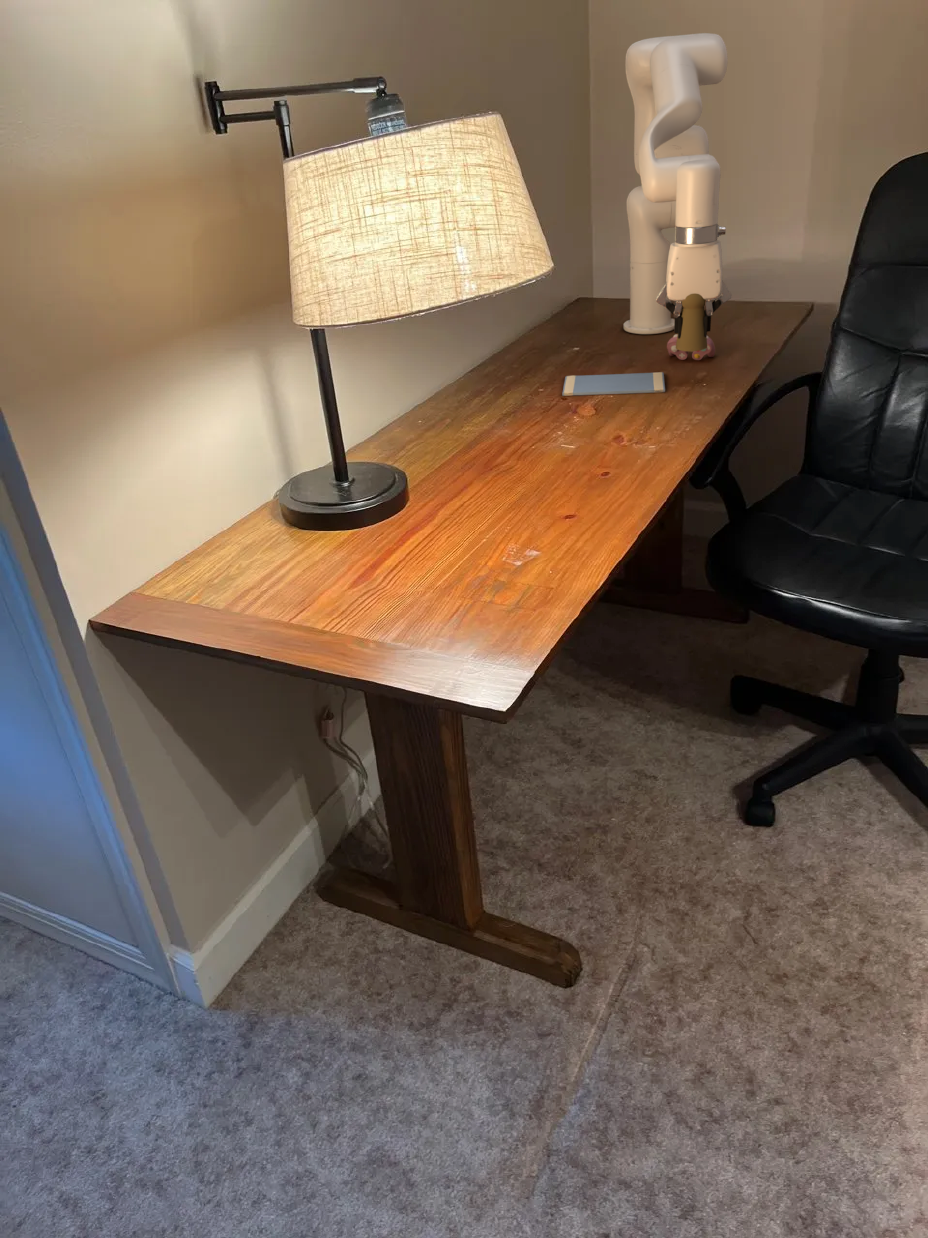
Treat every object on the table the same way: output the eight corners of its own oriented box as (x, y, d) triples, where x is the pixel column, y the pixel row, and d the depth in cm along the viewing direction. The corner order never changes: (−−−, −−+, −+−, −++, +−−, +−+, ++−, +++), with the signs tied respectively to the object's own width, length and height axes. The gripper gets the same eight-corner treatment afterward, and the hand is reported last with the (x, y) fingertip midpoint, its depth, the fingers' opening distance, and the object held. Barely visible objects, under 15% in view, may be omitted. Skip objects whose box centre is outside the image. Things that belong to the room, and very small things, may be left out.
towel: (565, 378, 195) (565, 375, 194) (663, 375, 191) (663, 371, 191) (562, 395, 185) (562, 392, 185) (665, 392, 182) (665, 388, 182)
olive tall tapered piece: (705, 341, 183) (708, 283, 178) (709, 350, 178) (712, 290, 172) (674, 343, 184) (675, 285, 178) (677, 352, 179) (678, 292, 173)
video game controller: (666, 366, 201) (664, 341, 195) (670, 351, 203) (668, 326, 197) (713, 367, 197) (712, 342, 192) (716, 352, 199) (715, 326, 194)
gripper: (741, 228, 172) (734, 328, 182) (649, 234, 175) (647, 332, 185) (745, 235, 166) (738, 339, 175) (649, 241, 169) (648, 343, 178)
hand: (692, 334), depth 180 cm, fingers closed on olive tall tapered piece, 4 cm apart
